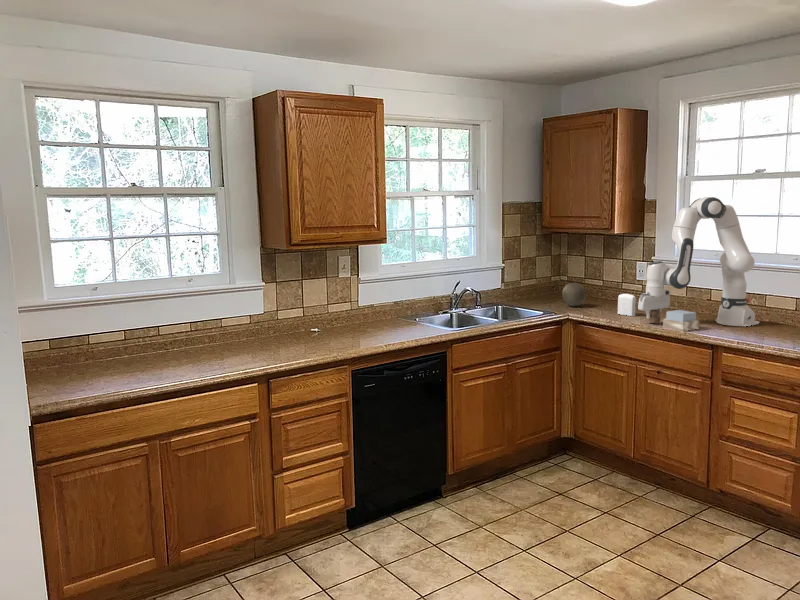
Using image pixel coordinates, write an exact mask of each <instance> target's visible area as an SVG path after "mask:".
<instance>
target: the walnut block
mask: <svg viewBox="0 0 800 600" xmlns="http://www.w3.org/2000/svg"><path fill="white" fill-rule="evenodd" d="M661 313H662V311H660V310H657V309H654V310H650V315H651V318H647V314H646V313H645V314H646V315H645V316H646V317H645V322H648V323H660V322H661Z"/></svg>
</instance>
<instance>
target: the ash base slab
mask: <svg viewBox="0 0 800 600" xmlns="http://www.w3.org/2000/svg"><path fill="white" fill-rule="evenodd" d="M662 321H663V322H662V328H663V327H666V328H665V329H667V328H672V329H676V330H675V331H677V330H679V331H678V332H682V331H684V332H689V331H688V330H691V331H696V330H695V329H700V327H699V326H700V320H699V319H698V320H697V319H696V320H695V321H688V322H679V321H674V320H668V319H666V318H663V320H662ZM672 329H671V330H672Z"/></svg>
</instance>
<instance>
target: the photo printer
mask: <svg viewBox="0 0 800 600" xmlns="http://www.w3.org/2000/svg"><path fill="white" fill-rule="evenodd" d="M636 306H637V299H636V296H635V295H633V294H630V293H622V294H619V295H618V298H617V315H618V314H620V315H619V316H626V315H627V317H635V316H636Z"/></svg>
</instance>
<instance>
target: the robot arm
mask: <svg viewBox="0 0 800 600" xmlns="http://www.w3.org/2000/svg"><path fill="white" fill-rule="evenodd" d="M701 219H702V220H705V219H708V220H709V219H712V220H713V222H714V224H715V229H716V233H717V237H718V240H719V244H720V246H721V247H722V249H723V250H724V252H723V253H722V254H721V255H720V256H719V257H720V258H719V263H720V266H721V274H722V275H721V276H722V296H721V297H720V306H719V308H718V312H717V317H716V318H715V322H716V323H717V324H719V325H724V326H734V327H746V326H748V327H752V326H755V325H760V324H759V323H760V321H759V320H756V313H755V311H753V309H751V308H750V306H749V305H748V303H751V298H746V297H747V296H746V295H747V286H748V285H747V282H746V277H745V273H747V272H750V271H751V270H752V269H753V268H754V266H755V262H756V261H755V259H754V257H753V255H752V254H751V253H750V250H749V248H748V245H747V243H746V241H745V239H744V236H743V232H742V228H741V224H740V221H739V218H738V214H737V212H736V210H735V208H734V206H732V205H730V204H724V203H723V202H722V201H721V199H719V198H717V197H713V196H712V197H711V196H706V197H702V198H698V199H697V198H696V199H695V200H694V201H693V202H692V203H691V204H690V205H689V206H685V207H682V208H681V209H679V211H678V213H677V215H676V217H675V221H674V223H673V226H672V230H671V240H672V242H673V243H674V244H675V245H676V246H677V248H678V257H677V258H678V259H677V264H676V267H673V266H671V265H669V264H666V263H665V262H664V261H661V260H656V261H651V262H650V263H648V264H647V267H646V278H645V279H646V285H645V292H643V293H641V294H640V295H639V299H638V304H637V309H638V310H639V311H643V312H644V311H645V314H647V318H651V315H650V310H660V311H661V312H662V311H663V309H669V307H670V306H671V304H670V303H671V297H670V295H671V290H668V289H665V285H666V286H669V287H673V288H675V289H677V290H682V289H685V288H686V287H688V286H689V284H690V282H691V280H692V279H691V264H692V259H693V252H694V240H695V234H696V230H697V226H698V224H699V222H700V220H701ZM751 325H752V326H751Z"/></svg>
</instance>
